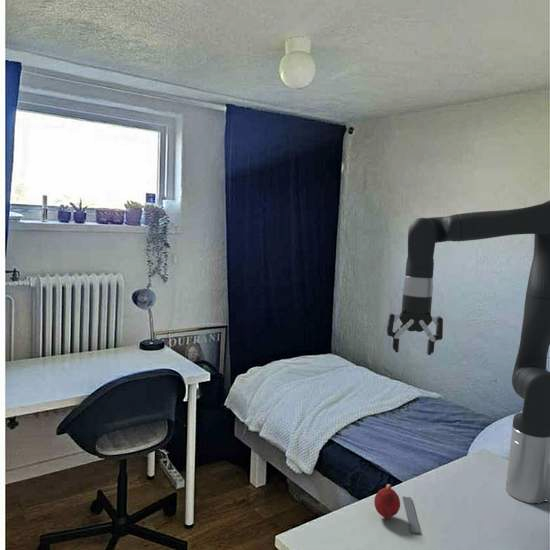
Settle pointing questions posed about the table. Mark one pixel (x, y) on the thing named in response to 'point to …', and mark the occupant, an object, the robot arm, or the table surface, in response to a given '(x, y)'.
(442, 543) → the table surface
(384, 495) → the onion
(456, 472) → the table surface
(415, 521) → the flat gray rectangular bar
